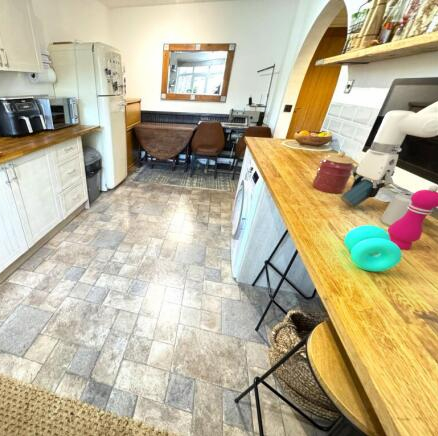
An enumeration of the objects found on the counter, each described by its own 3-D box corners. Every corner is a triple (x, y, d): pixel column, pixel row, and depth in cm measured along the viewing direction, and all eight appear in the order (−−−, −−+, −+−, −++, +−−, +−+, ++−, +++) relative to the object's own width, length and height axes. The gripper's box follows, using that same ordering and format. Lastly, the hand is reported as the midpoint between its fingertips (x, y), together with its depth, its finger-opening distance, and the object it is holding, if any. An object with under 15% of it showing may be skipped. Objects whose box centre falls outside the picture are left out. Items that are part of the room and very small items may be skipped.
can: (403, 222, 88) (422, 192, 82) (409, 232, 82) (431, 201, 76) (377, 217, 91) (394, 188, 85) (381, 226, 85) (400, 195, 79)
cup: (343, 203, 101) (365, 186, 98) (356, 210, 95) (381, 193, 92) (337, 194, 98) (360, 177, 95) (351, 201, 93) (376, 183, 90)
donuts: (377, 256, 71) (395, 227, 66) (391, 278, 63) (413, 248, 58) (337, 247, 74) (351, 220, 69) (345, 267, 66) (362, 238, 61)
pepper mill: (383, 245, 75) (420, 187, 65) (379, 235, 80) (414, 179, 70) (414, 253, 72) (459, 193, 62) (408, 242, 77) (449, 184, 67)
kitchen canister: (340, 185, 118) (356, 150, 109) (346, 195, 108) (364, 157, 99) (310, 181, 122) (323, 146, 113) (313, 190, 112) (328, 153, 103)
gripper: (419, 153, 79) (392, 202, 88) (371, 142, 94) (351, 184, 103) (399, 154, 78) (374, 203, 87) (354, 142, 93) (336, 185, 102)
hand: (362, 192), depth 95 cm, fingers closed on cup, 6 cm apart
